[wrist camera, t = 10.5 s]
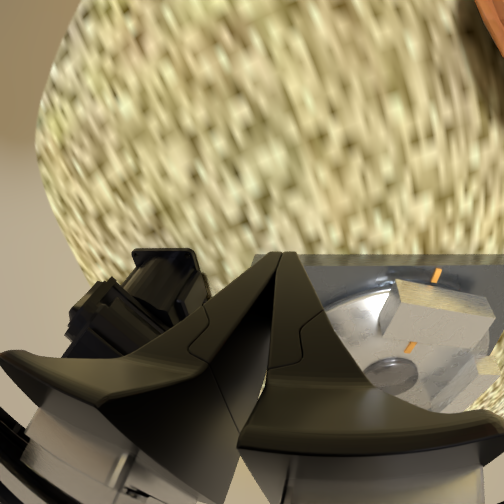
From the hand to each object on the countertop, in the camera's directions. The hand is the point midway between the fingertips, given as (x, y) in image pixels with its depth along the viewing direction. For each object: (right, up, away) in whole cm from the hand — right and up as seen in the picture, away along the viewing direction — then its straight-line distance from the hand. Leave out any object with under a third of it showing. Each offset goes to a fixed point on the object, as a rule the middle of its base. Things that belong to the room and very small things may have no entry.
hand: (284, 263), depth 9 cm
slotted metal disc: (+13, -11, +17) cm, 24 cm away
